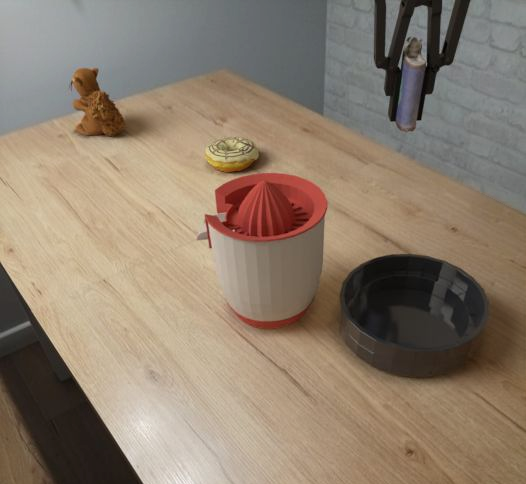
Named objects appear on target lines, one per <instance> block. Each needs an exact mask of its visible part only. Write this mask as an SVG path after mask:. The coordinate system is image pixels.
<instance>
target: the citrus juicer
mask: <svg viewBox="0 0 526 484" xmlns="http://www.w3.org/2000/svg"><path fill="white" fill-rule="evenodd" d="M214 195H215V205H216V213H214V214H207V213H206V214H205V213H204V220H203V223H202V225H201V228H200V229H199V231H198V233H197V236H196V241H205V240H207V242H208V248H209V250H210V249H211V252H212V258H213V265H214V271H215V273H216V274H215V275H216V279H217V282H218V284H219V287H220V289H221V292H222V294H223V296H224V298H225V300H226V302H227V305H228V306H229V308H230V309H231V310H232V312H233V313H234V314H235V316H236V317H237V318H238V319H239V320H240V321H242V322H244V323H245V324H247V325H249V326H252V327H255V328H258V329H259V328H260V329H278V328H279V329H280V328H283V327H286V326H289V325H292V324H294V323H296V322H297V321H299V320H300V319H302V317H303V316H305V314H306V313H307V312H308V310H309V308H310V307H311V305H312V303H313V302H314V299H315V296H316V293H317V290H318V288H319V284H320V281H321V276H322V273H323V264H324V247H325V246H324V244H325V242H324V241H325V221H326V220H325V219H326V217H325V216H326V213H327V211H328V199H327V197H326V194H325V193H324V191H323V190H322V189H321V188H320V187H319V186H317V184H315V183H314V182H312V181H310V180H308V179H306V178H304V177H300V176H297V175H293V174H290V173H289V174H288V173H282V172H281V173H279V172H261V173H252V174H248V175H243V176H239V177H237V178H233V179H231V180H229V181H226V182H224V183H223V184H221V185H220V186H218V187H216V189H214Z"/></svg>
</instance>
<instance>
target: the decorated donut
mask: <svg viewBox="0 0 526 484" xmlns="http://www.w3.org/2000/svg"><path fill="white" fill-rule="evenodd" d="M204 152H205V160H206V162H208V164H209V165H210V166H211V167H212V168H213V169H215V170H217V171H221V172H224V173H231V172H240V171H242V170H246V169H247V168H248V167H250V166H251V165H252V164H253V163H254V162H255V161H256V160H258V159H259V155H260V154H259V148H258V146H257V144H256V142H254V141H252V140H251V139H249V138H247V137H244V136H235V137H231V136H229V137H224V138H221V139H217V140H215V141H212V142H211V143H210V144H209V145H207V146H206V149H205V151H204Z"/></svg>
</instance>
